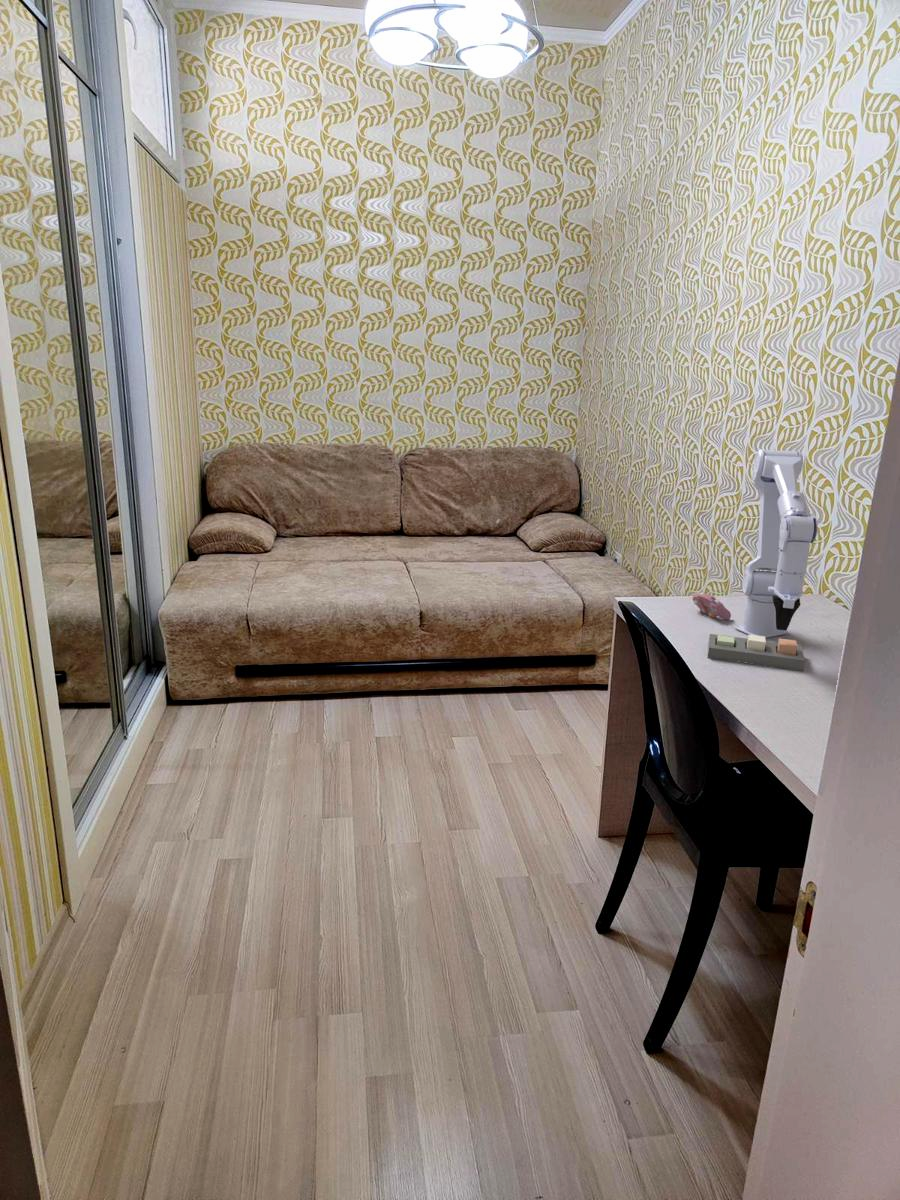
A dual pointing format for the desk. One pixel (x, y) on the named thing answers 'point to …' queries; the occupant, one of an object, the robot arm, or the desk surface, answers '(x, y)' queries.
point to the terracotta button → (787, 646)
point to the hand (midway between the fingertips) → (781, 629)
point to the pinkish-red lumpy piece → (711, 606)
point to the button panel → (756, 654)
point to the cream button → (756, 642)
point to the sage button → (725, 641)
